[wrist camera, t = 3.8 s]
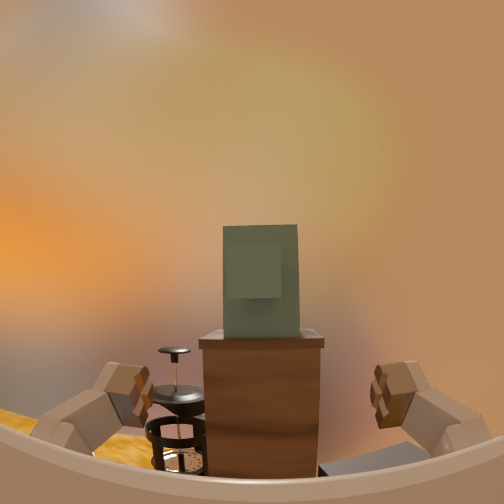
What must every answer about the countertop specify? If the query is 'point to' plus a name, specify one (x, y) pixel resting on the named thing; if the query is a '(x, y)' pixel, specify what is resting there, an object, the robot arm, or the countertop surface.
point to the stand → (262, 405)
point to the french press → (185, 408)
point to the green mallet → (260, 281)
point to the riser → (375, 460)
